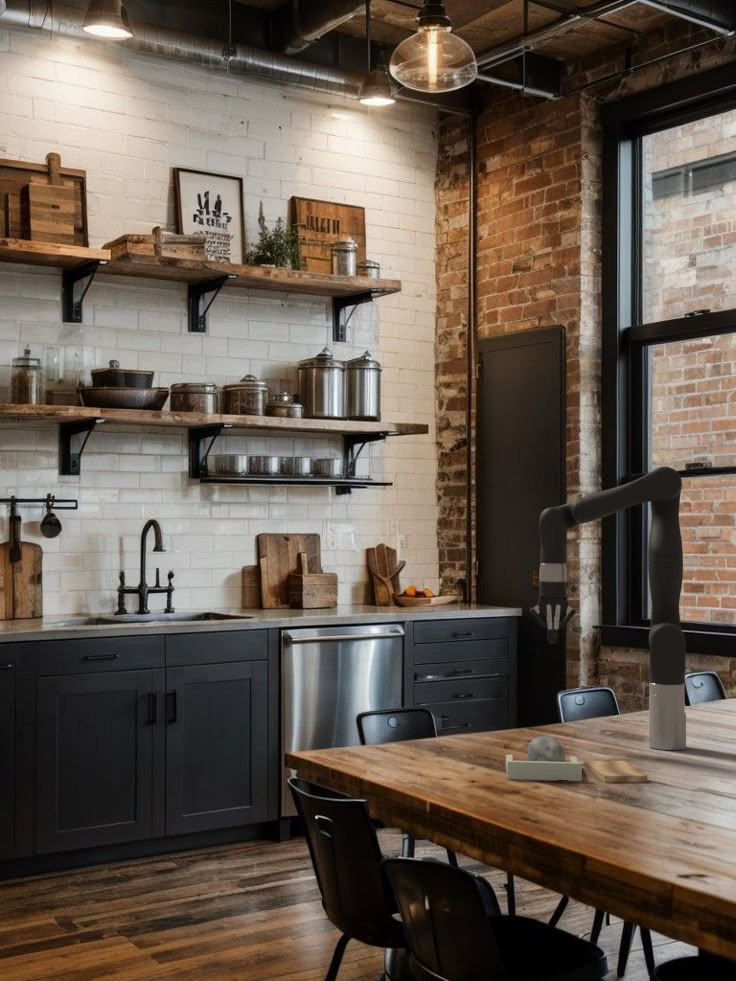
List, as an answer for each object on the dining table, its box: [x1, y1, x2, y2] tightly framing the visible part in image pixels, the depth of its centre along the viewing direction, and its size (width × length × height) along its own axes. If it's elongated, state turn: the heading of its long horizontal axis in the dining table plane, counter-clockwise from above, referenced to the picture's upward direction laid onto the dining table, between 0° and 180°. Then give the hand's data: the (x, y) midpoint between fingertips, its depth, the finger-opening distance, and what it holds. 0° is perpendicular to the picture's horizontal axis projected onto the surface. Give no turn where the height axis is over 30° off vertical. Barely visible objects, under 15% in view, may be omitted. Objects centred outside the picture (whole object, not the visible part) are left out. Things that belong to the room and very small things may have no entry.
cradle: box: [505, 754, 583, 782], centre depth 288 cm, size 17×18×4 cm
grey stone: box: [526, 735, 566, 762], centre depth 289 cm, size 14×10×10 cm
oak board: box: [583, 760, 648, 783], centre depth 286 cm, size 10×18×2 cm, turn 5°
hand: (552, 642), depth 332 cm, fingers closed
